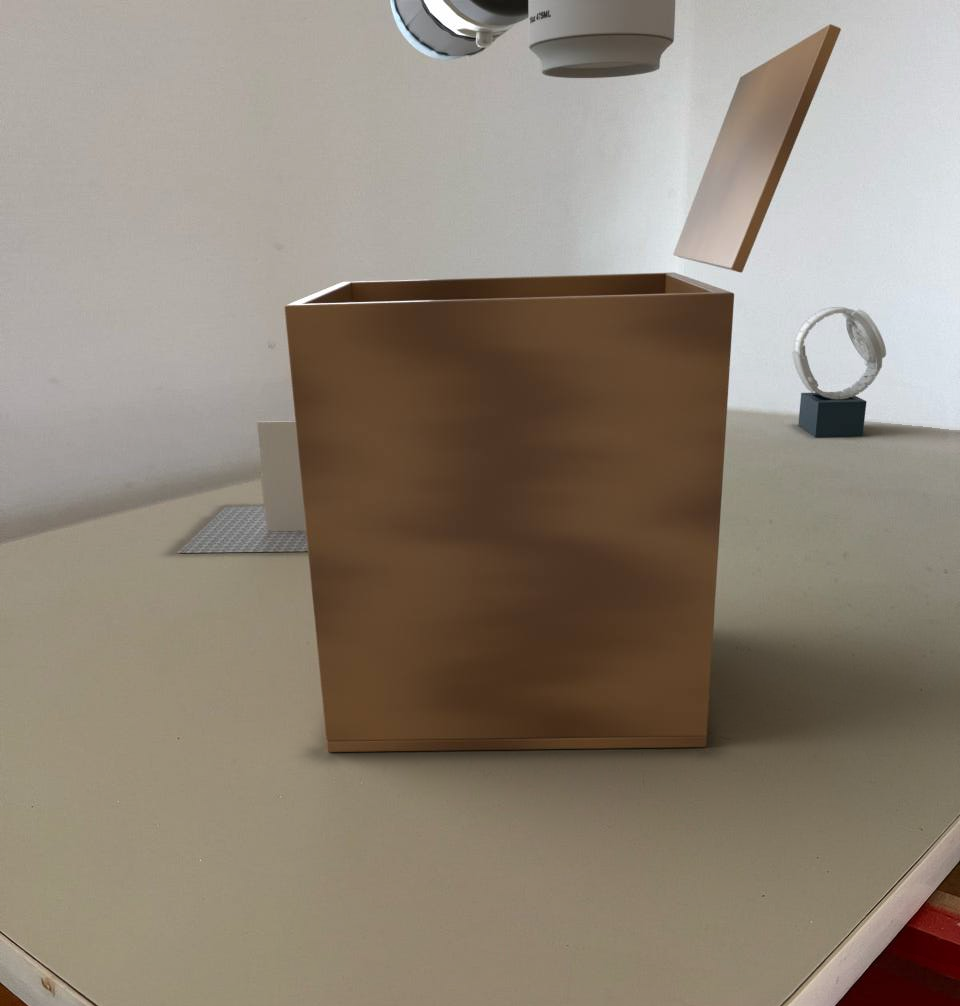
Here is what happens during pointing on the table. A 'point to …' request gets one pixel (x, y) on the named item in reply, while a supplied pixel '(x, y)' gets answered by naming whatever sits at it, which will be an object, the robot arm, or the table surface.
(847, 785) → the table surface
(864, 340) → the watch
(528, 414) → the carton
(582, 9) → the energy drink can
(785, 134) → the flap
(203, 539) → the architectural model
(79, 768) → the table surface
